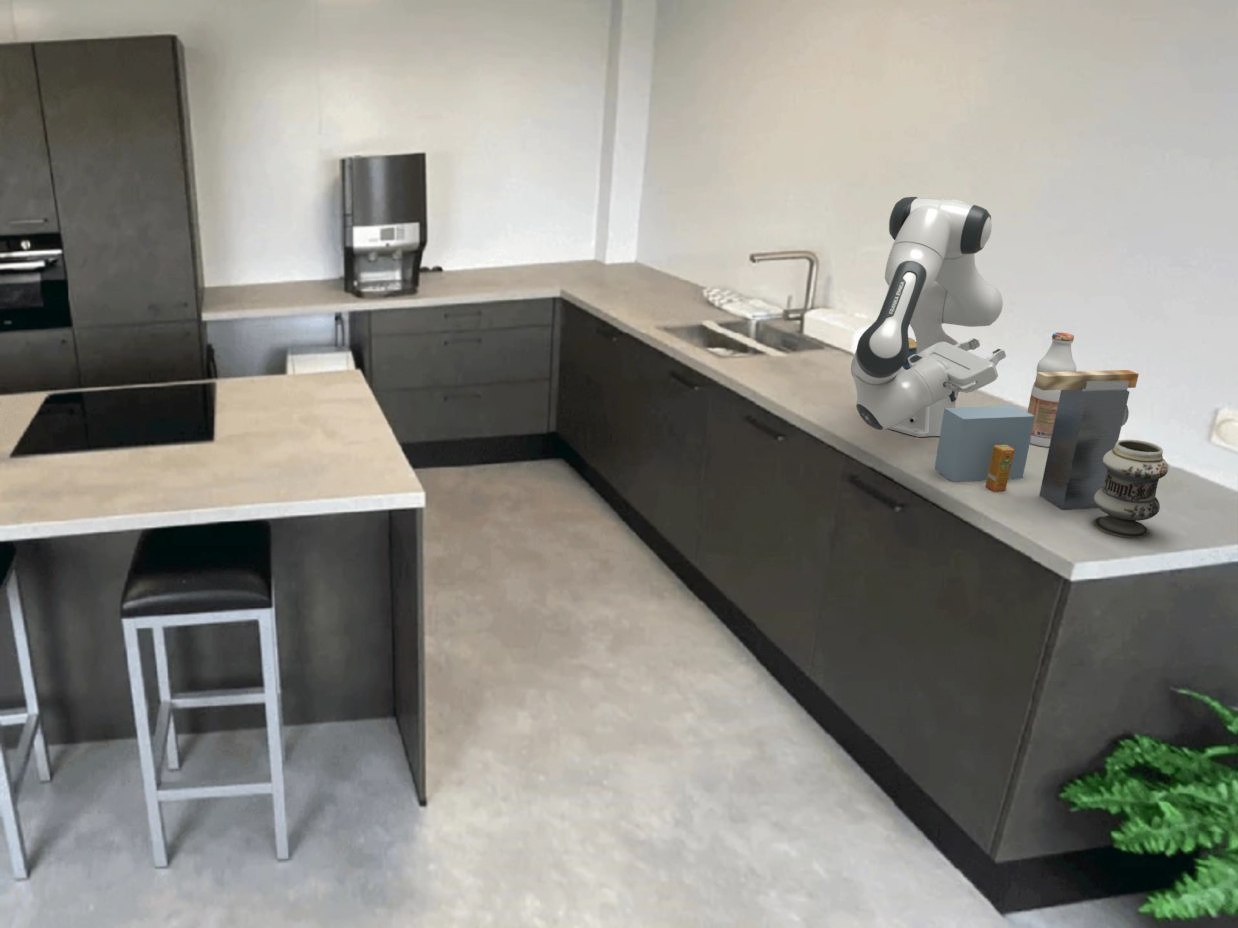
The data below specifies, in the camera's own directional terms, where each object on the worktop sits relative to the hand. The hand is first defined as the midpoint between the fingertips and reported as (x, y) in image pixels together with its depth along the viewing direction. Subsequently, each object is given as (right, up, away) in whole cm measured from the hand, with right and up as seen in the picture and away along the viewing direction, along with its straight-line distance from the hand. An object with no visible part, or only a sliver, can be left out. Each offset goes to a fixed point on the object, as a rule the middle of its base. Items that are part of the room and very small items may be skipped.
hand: (990, 346), depth 204 cm
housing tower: (+22, -32, +11) cm, 41 cm away
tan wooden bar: (+20, -8, +1) cm, 22 cm away
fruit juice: (+31, -19, +49) cm, 61 cm away
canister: (+4, -2, +88) cm, 89 cm away
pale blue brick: (+7, -26, +25) cm, 37 cm away
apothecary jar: (+26, -38, -1) cm, 46 cm away
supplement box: (+7, -30, +16) cm, 35 cm away
